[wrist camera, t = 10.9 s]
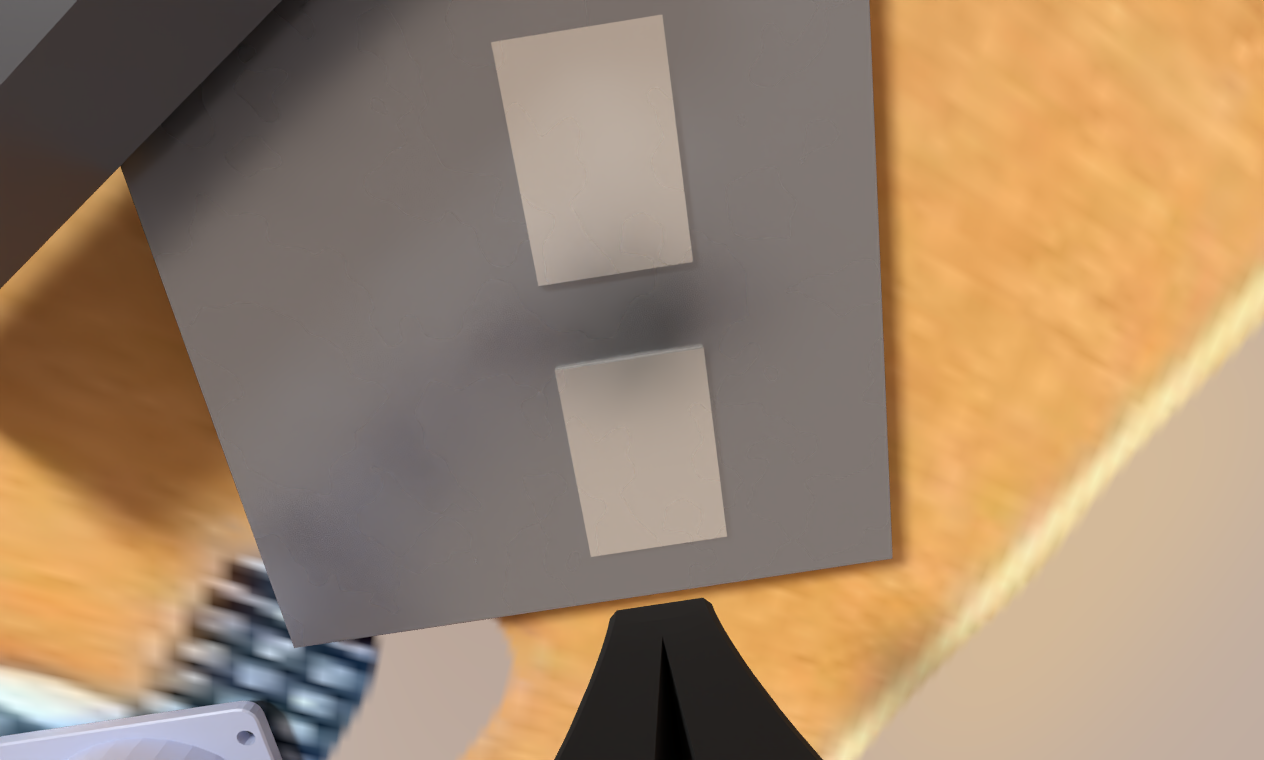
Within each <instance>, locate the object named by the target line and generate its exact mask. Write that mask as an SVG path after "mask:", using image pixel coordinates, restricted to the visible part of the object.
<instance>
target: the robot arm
mask: <svg viewBox="0 0 1264 760" xmlns="http://www.w3.org/2000/svg"><path fill="white" fill-rule="evenodd" d="M247 731H249V732H251V733H253V734H250V733H248V732H247ZM0 760H282V757H281V755H280V752H279V750H278V747H277V745H276V742H275V739H274V737H273V734H272V732H271V729H270V727H269V724H268V721H267V719H266V716H265V714H264V712H263V710H262V709H261V707H260V706H259V705H257V704H256V703H254V702H251V701H236V702H230V703H223V704H216V705H209V706H203V707H196V708H189V709H183V710H176V711H169V712H162V713H156V714H149V715H142V716H135V717H129V718H122V719H115V720H108V721H102V722H95V723H88V724H81V725H75V726H68V727H61V728H54V729H48V730H41V731H34V732H28V733H21V734H14V735H7V736H2V737H0ZM554 760H823V759H822V758H821V757H820V756H819V755H818V754H817V752H816V751H815V750H814V749H813V748H812V747H811V746H810V744H809V743H808V742H807V741H806V740H805V739H804V737H803V736H802V735H801V734H800V733H799V732H798V731H797V729H796V728H795V727H794V726H793V724H792V723H791V722H790V721H789V720H788V718H787V717H786V716H785V715H784V713H783V712H782V711H781V710H780V708H779V707H778V706H777V704H776V703H775V702H774V701H773V699H772V698H771V697H770V695H769V694H768V693H767V691H766V690H765V689H764V687H763V686H762V685H761V683H760V682H759V681H758V679H757V678H756V677H755V675H754V674H753V673H752V671H751V670H750V668H749V667H748V666H747V664H746V663H745V661H744V660H743V658H742V657H741V655H740V654H739V652H738V651H737V649H736V648H735V646H734V645H733V643H732V641H731V640H730V638H729V637H728V635H727V633H726V632H725V630H724V628H723V626H722V625H721V623H720V621H719V619H718V617H717V615H716V613H715V611H714V609H713V606H712V604H711V603H710V602H708V601H707V600H705V599H704V598H698V599H691V600H684V601H678V602H671V603H664V604H658V605H651V606H644V607H637V608H631V609H624V610H617V611H616V612H615V613H614V615H613V616H612V617H611V618H610V621H609V626H608V630H607V633H606V637H605V640H604V643H603V646H602V649H601V652H600V655H599V658H598V661H597V663H596V666H595V669H594V671H593V674H592V677H591V679H590V682H589V685H588V687H587V689H586V692H585V694H584V696H583V699H582V701H581V703H580V706H579V708H578V710H577V713H576V715H575V717H574V720H573V722H572V724H571V727H570V729H569V731H568V733H567V735H566V737H565V739H564V742H563V743H562V745H561V747H560V749H559V751H558V753H557V755H556V757H555V759H554Z"/></svg>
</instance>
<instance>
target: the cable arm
mask: <svg viewBox="0 0 1264 760" xmlns="http://www.w3.org/2000/svg"><path fill="white" fill-rule="evenodd" d="M281 1H282V0H0V289H1V287H2V286H3V285H4V284H5V283H6V282H7V281H8V280H9V279H10V278H11V277H12V276H13V275H14V274H15V273H16V272H17V271H18V270H19V269H20V268H21V267H22V266H23V265H24V264H25V263H26V262H27V261H28V260H29V259H30V258H31V257H32V256H33V255H34V254H35V253H36V252H37V251H38V250H39V249H40V248H41V247H42V245H43V244H44V243H45V242H46V241H47V240H48V239H49V238H50V237H51V236H52V235H53V234H54V233H55V232H56V231H57V230H58V229H59V228H60V227H61V226H62V225H63V224H64V223H65V222H66V221H67V220H68V219H69V218H70V217H71V216H72V215H73V214H74V213H75V212H76V211H77V210H78V209H79V208H80V207H81V206H82V205H83V203H84V202H85V201H86V200H87V199H88V198H89V197H90V196H91V195H92V194H93V193H94V192H95V191H96V190H97V189H98V188H99V187H100V186H101V185H102V184H103V183H104V182H105V181H106V180H107V179H108V178H109V177H110V176H111V175H112V174H113V173H114V172H115V171H116V170H117V169H118V168H119V167H120V166H121V165H122V164H123V163H124V162H125V160H126V159H127V158H128V157H129V156H130V155H131V154H132V153H133V152H134V151H135V150H136V149H137V148H138V147H139V146H140V145H141V144H142V143H143V142H144V141H145V140H146V139H147V138H148V137H149V136H150V135H151V134H152V133H153V132H154V131H155V130H156V129H157V128H158V127H159V126H160V125H161V124H162V123H163V122H164V121H165V120H166V118H167V117H168V116H169V115H170V114H171V113H172V112H173V111H174V110H175V109H176V108H177V107H178V106H179V105H180V104H181V103H182V102H183V101H184V100H185V99H186V98H187V97H188V96H189V95H190V94H191V93H192V92H193V91H194V90H195V89H196V88H197V87H198V86H199V85H200V84H201V83H202V82H203V81H204V80H205V79H206V78H207V76H208V75H209V74H210V73H211V72H212V71H213V70H214V69H215V68H216V67H217V66H218V65H219V64H220V63H221V62H222V61H223V60H224V59H225V58H226V57H227V56H228V55H229V54H230V53H231V52H232V51H233V50H234V49H235V48H236V47H237V46H238V45H239V44H240V43H241V42H242V41H243V40H244V39H245V38H246V37H247V36H248V34H249V33H250V32H251V31H252V30H253V29H254V28H255V27H256V26H257V25H258V24H259V23H260V22H261V21H262V20H263V19H264V18H265V17H266V16H267V15H268V14H269V13H270V12H271V11H272V10H273V9H274V8H275V7H276V6H277V5H278V4H279V3H280V2H281Z"/></svg>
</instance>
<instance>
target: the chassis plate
mask: <svg viewBox="0 0 1264 760" xmlns="http://www.w3.org/2000/svg"><path fill="white" fill-rule="evenodd" d="M121 169H122V172H123V174H124V177H125V180H126V183H127V185H128V188H129V191H130V194H131V197H132V199H133V202H134V205H135V208H136V210H137V213H138V216H139V219H140V221H141V224H142V227H143V230H144V233H145V235H146V238H147V241H148V244H149V246H150V249H151V252H152V255H153V258H154V260H155V263H156V266H157V269H158V271H159V274H160V277H161V280H162V282H163V285H164V288H165V291H166V294H167V296H168V299H169V302H170V305H171V307H172V310H173V313H174V316H175V318H176V321H177V324H178V327H179V330H180V332H181V335H182V338H183V341H184V343H185V346H186V349H187V352H188V355H189V357H190V360H191V363H192V366H193V368H194V371H195V374H196V377H197V379H198V382H199V385H200V388H201V391H202V393H203V396H204V399H205V402H206V404H207V407H208V410H209V413H210V415H211V418H212V421H213V424H214V427H215V429H216V432H217V435H218V438H219V440H220V443H221V446H222V449H223V452H224V454H225V457H226V460H227V463H228V465H229V468H230V471H231V474H232V476H233V479H234V482H235V485H236V488H237V490H238V493H239V496H240V499H241V501H242V504H243V507H244V510H245V512H246V515H247V518H248V521H249V524H250V526H251V529H252V532H253V535H254V537H255V540H256V543H257V546H258V549H259V551H260V554H261V557H262V560H263V562H264V565H265V568H266V571H267V573H268V576H269V579H270V582H271V585H272V587H273V590H274V593H275V596H276V598H277V601H278V604H279V607H280V610H281V612H282V615H283V618H284V621H285V623H286V626H287V629H288V632H289V634H290V637H291V640H292V643H293V646H294V648H297V647H303V646H310V645H317V644H323V643H330V642H337V641H344V640H350V639H357V638H364V637H370V636H377V635H383V634H390V633H397V632H403V631H410V630H417V629H424V628H430V627H437V626H444V625H451V624H457V623H464V622H471V621H477V620H484V619H491V618H497V617H504V616H511V615H518V614H524V613H531V612H538V611H544V610H551V609H558V608H564V607H571V606H578V605H585V604H591V603H598V602H605V601H611V600H618V599H625V598H631V597H638V596H645V595H651V594H658V593H665V592H672V591H678V590H685V589H692V588H698V587H705V586H712V585H718V584H725V583H732V582H738V581H745V580H752V579H759V578H765V577H772V576H779V575H785V574H792V573H799V572H805V571H812V570H819V569H825V568H832V567H839V566H846V565H852V564H859V563H866V562H872V561H879V560H886V559H892V535H891V511H890V487H889V463H888V439H887V414H886V390H885V366H884V342H883V318H882V294H881V270H880V246H879V222H878V198H877V174H876V150H875V126H874V102H873V78H872V54H871V30H870V6H869V0H282V1H281V2H280V3H279V4H278V5H277V6H276V7H275V8H274V9H273V10H272V11H271V12H270V13H269V14H268V15H267V16H266V17H265V18H264V19H263V20H262V21H261V22H260V23H259V24H258V25H257V26H256V27H255V28H254V29H253V30H252V31H251V32H250V33H249V34H248V36H247V37H246V38H245V39H244V40H243V41H242V42H241V43H240V44H239V45H238V46H237V47H236V48H235V49H234V50H233V51H232V52H231V53H230V54H229V55H228V56H227V57H226V58H225V59H224V60H223V61H222V62H221V63H220V64H219V65H218V66H217V67H216V68H215V69H214V70H213V71H212V72H211V73H210V74H209V75H208V76H207V78H206V79H205V80H204V81H203V82H202V83H201V84H200V85H199V86H198V87H197V88H196V89H195V90H194V91H193V92H192V93H191V94H190V95H189V96H188V97H187V98H186V99H185V100H184V101H183V102H182V103H181V104H180V105H179V106H178V107H177V108H176V109H175V110H174V111H173V112H172V113H171V114H170V115H169V116H168V117H167V118H166V120H165V121H164V122H163V123H162V124H161V125H160V126H159V127H158V128H157V129H156V130H155V131H154V132H153V133H152V134H151V135H150V136H149V137H148V138H147V139H146V140H145V141H144V142H143V143H142V144H141V145H140V146H139V147H138V148H137V149H136V150H135V151H134V152H133V153H132V154H131V155H130V156H129V157H128V158H127V159H126V160H125V162H124V163H123V164H122V165H121Z"/></svg>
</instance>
